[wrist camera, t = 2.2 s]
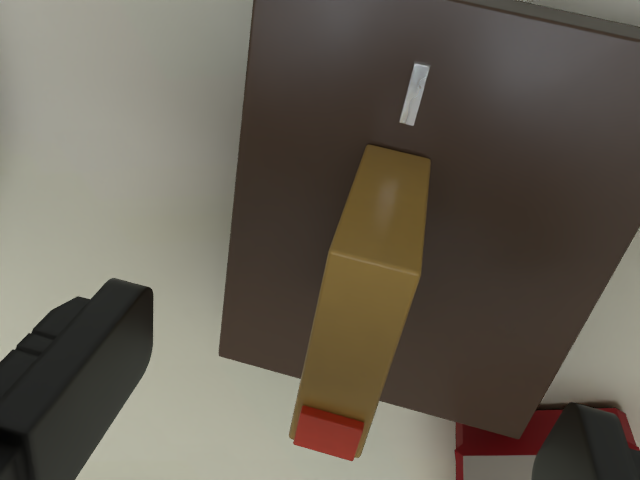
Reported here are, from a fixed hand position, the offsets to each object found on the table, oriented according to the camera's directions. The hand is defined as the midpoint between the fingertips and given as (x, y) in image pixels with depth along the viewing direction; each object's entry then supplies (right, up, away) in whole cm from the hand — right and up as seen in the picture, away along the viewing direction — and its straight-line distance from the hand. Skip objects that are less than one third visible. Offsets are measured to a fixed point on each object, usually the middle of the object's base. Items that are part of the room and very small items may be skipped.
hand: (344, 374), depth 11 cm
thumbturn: (+1, +3, +4) cm, 5 cm away
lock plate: (+2, +3, +6) cm, 7 cm away
